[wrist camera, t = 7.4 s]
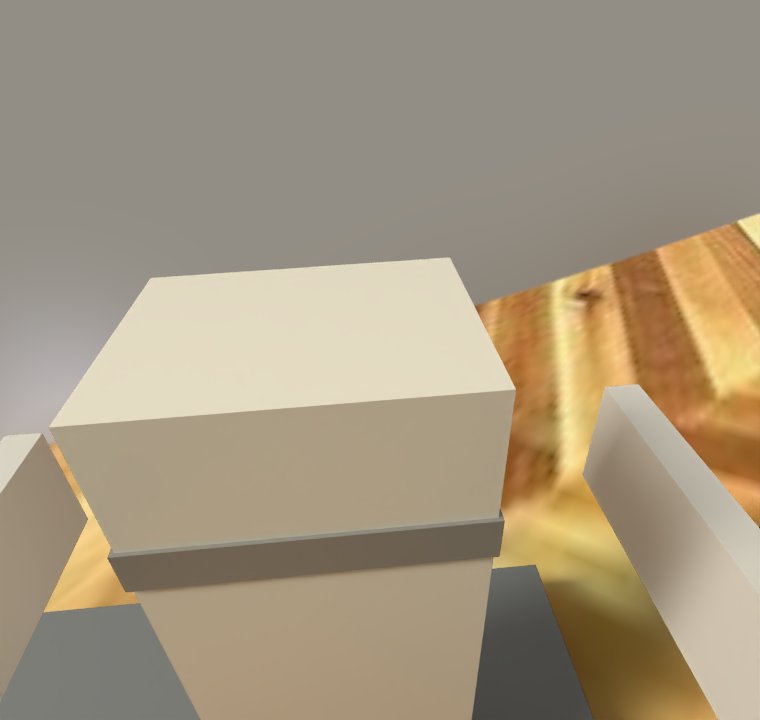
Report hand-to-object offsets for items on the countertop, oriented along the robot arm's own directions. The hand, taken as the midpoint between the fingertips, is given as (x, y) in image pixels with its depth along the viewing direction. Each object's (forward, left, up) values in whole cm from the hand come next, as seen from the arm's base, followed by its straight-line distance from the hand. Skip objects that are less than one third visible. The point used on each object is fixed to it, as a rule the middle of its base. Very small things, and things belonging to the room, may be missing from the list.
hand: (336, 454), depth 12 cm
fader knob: (0, +4, -6) cm, 7 cm away
